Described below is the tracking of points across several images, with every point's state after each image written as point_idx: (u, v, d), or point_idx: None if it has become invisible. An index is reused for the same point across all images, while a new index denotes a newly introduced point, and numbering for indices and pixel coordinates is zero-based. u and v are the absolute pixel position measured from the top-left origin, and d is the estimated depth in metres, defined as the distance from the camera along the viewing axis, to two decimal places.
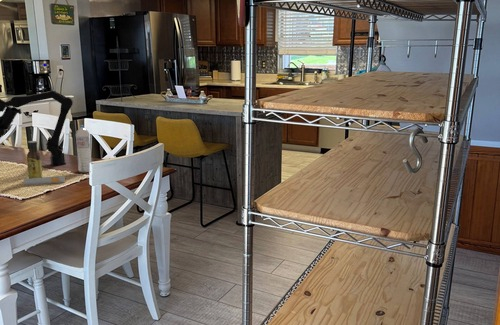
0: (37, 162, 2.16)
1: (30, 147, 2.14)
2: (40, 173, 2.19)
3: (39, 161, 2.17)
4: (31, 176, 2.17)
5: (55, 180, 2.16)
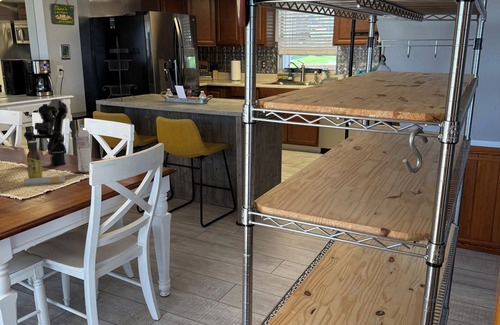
0: (37, 162, 2.16)
1: (30, 147, 2.14)
2: (40, 173, 2.19)
3: (39, 161, 2.17)
4: (31, 176, 2.17)
5: (55, 180, 2.16)
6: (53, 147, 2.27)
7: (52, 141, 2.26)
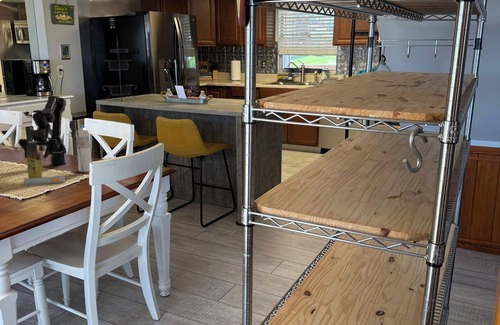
0: (37, 162, 2.16)
1: (30, 147, 2.14)
2: (40, 173, 2.19)
3: (39, 161, 2.17)
4: (31, 176, 2.17)
5: (55, 180, 2.16)
6: (48, 155, 2.22)
7: (47, 148, 2.21)
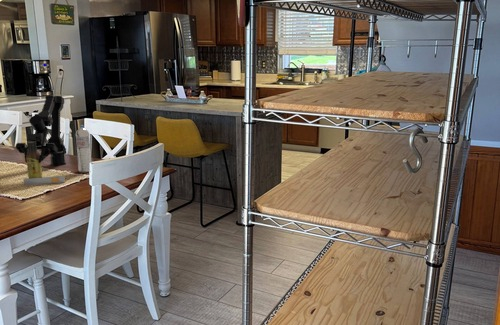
0: (36, 162, 2.16)
1: (30, 147, 2.14)
2: (40, 173, 2.19)
3: None
4: (31, 176, 2.17)
5: (55, 180, 2.16)
6: (43, 159, 2.19)
7: (42, 153, 2.18)
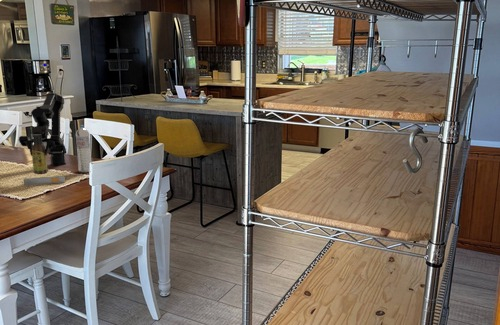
0: (42, 155, 2.16)
1: (35, 140, 2.14)
2: (46, 165, 2.19)
3: (44, 153, 2.18)
4: (38, 168, 2.17)
5: (55, 180, 2.16)
6: (48, 151, 2.20)
7: (47, 145, 2.18)
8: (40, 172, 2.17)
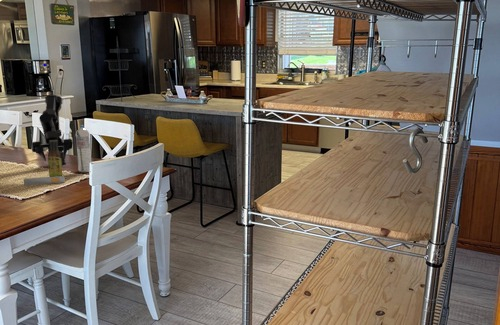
0: (60, 160, 2.21)
1: (53, 146, 2.18)
2: None
3: None
4: (56, 174, 2.20)
5: (55, 180, 2.16)
6: None
7: (65, 148, 2.23)
8: None
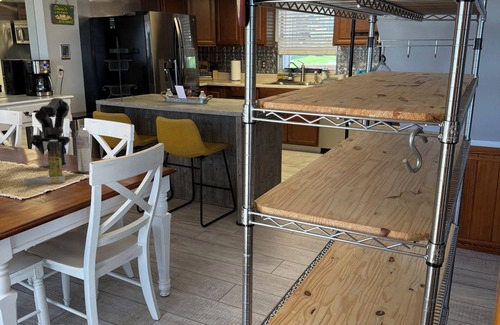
0: (60, 160, 2.21)
1: (53, 146, 2.18)
2: None
3: None
4: (56, 174, 2.20)
5: (55, 180, 2.16)
6: None
7: (62, 146, 2.33)
8: None
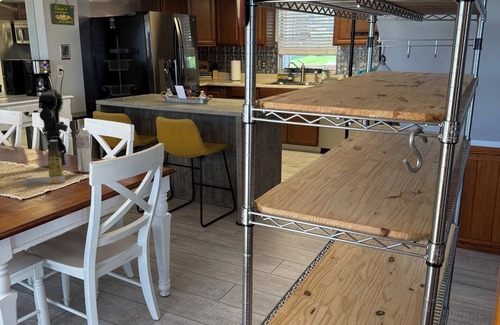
0: (60, 160, 2.21)
1: (53, 146, 2.18)
2: None
3: None
4: (56, 174, 2.20)
5: (55, 180, 2.16)
6: None
7: None
8: None
